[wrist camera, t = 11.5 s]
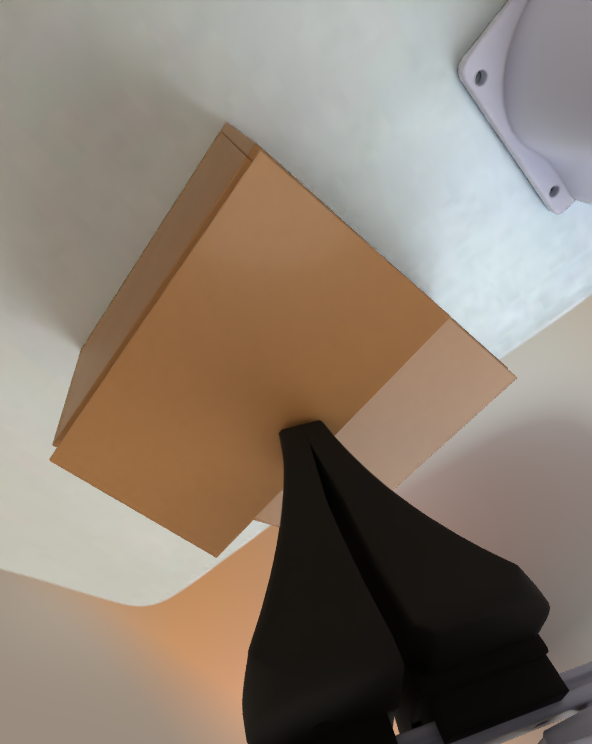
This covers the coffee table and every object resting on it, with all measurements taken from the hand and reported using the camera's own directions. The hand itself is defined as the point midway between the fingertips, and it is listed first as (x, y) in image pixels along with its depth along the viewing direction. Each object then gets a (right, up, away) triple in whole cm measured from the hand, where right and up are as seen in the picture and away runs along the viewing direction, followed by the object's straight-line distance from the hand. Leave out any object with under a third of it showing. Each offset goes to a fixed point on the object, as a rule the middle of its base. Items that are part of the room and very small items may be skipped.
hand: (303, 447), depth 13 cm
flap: (-2, +2, 0) cm, 3 cm away
